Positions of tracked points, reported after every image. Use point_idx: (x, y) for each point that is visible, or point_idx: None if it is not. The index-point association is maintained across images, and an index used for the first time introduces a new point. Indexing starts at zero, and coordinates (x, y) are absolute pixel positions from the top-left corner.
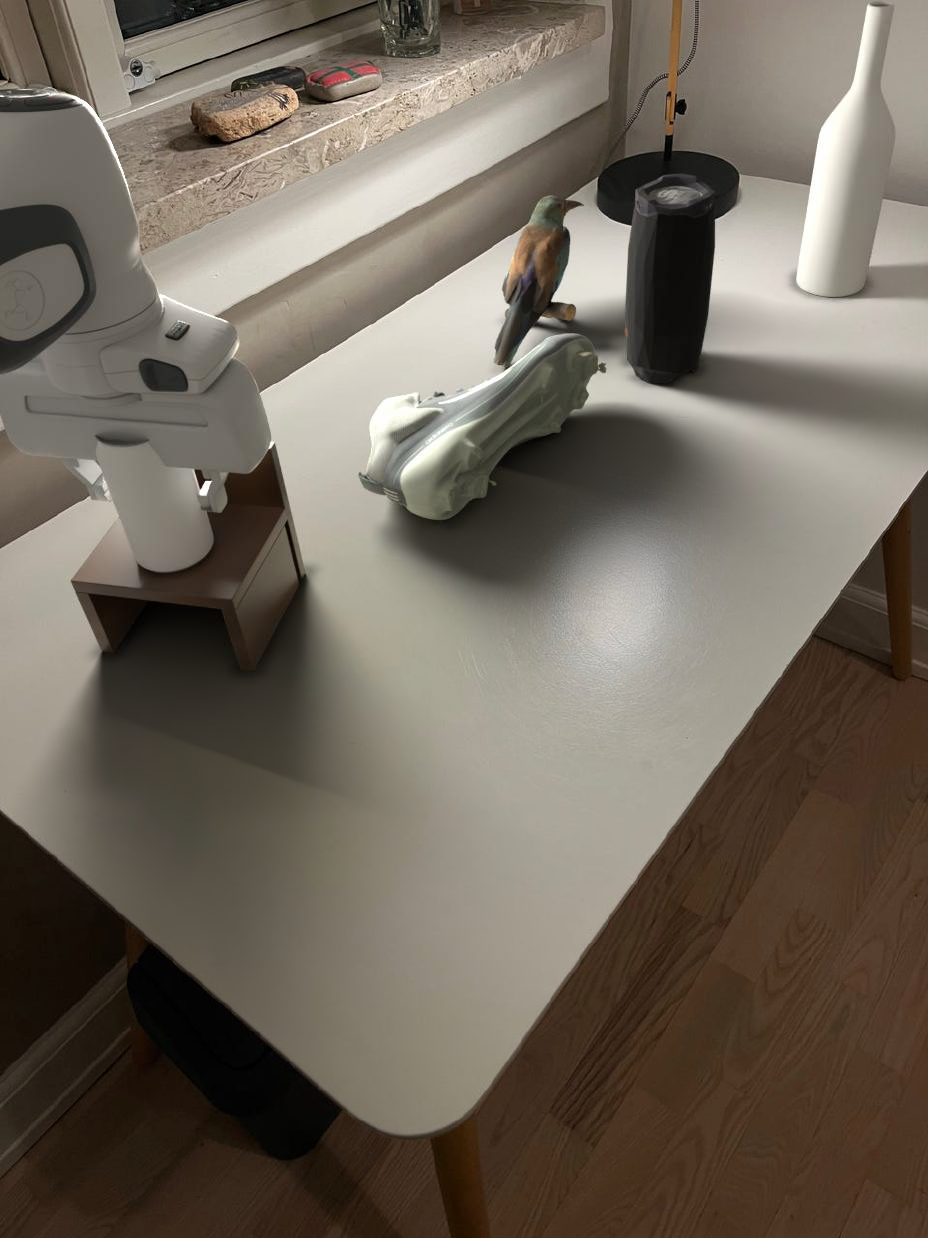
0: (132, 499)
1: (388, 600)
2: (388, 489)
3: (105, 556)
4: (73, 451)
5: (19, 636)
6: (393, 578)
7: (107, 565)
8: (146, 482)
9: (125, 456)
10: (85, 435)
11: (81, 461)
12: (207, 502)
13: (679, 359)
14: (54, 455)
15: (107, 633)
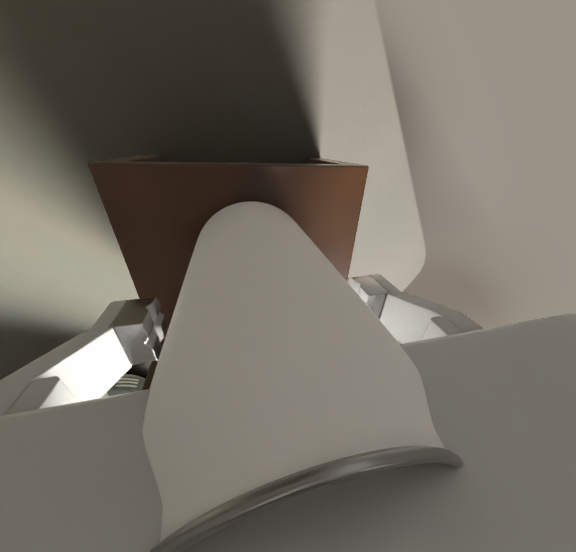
0: (264, 258)
1: (72, 281)
2: (127, 386)
3: (338, 222)
4: (484, 352)
5: (400, 165)
6: (90, 306)
7: (329, 205)
8: (206, 311)
9: (272, 407)
10: (499, 444)
11: (431, 331)
12: (124, 313)
13: None
14: (515, 326)
15: (315, 162)
